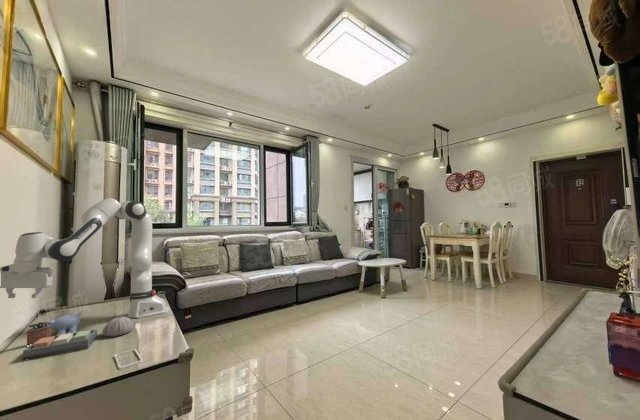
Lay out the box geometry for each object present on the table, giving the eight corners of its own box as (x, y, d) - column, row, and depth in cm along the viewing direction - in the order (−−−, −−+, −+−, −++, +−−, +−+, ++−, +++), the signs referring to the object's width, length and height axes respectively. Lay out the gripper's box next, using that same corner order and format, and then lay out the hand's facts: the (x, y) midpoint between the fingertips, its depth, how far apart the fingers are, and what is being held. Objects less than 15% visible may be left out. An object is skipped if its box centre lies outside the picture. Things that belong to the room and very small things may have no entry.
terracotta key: (54, 340, 122) (54, 336, 122) (47, 346, 116) (47, 341, 116) (41, 342, 120) (41, 338, 120) (33, 349, 114) (33, 344, 114)
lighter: (50, 339, 131) (50, 319, 131) (51, 341, 129) (51, 320, 129) (26, 345, 125) (26, 324, 125) (26, 347, 122) (27, 325, 123)
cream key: (73, 337, 125) (73, 333, 125) (67, 343, 119) (67, 338, 119) (60, 339, 123) (60, 335, 123) (53, 345, 117) (53, 340, 117)
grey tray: (97, 337, 132) (97, 328, 132) (87, 348, 119) (88, 338, 120) (39, 347, 122) (39, 337, 123) (23, 360, 110) (23, 350, 110)
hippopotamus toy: (45, 333, 140) (46, 314, 140) (83, 325, 149) (84, 308, 149) (41, 339, 131) (41, 320, 132) (81, 331, 140) (81, 313, 141)
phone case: (142, 363, 105) (135, 351, 116) (142, 360, 105) (135, 348, 116) (119, 371, 100) (114, 357, 111) (119, 367, 100) (114, 354, 111)
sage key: (90, 334, 128) (90, 330, 128) (85, 339, 122) (85, 335, 122) (78, 336, 126) (78, 332, 126) (72, 342, 120) (72, 337, 120)
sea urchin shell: (117, 339, 129) (117, 322, 129) (94, 337, 131) (95, 321, 132) (140, 328, 142) (140, 313, 142) (120, 327, 144) (120, 312, 145)
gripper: (58, 266, 127) (54, 296, 125) (9, 266, 124) (5, 296, 123) (46, 268, 121) (42, 299, 119) (-5, 267, 118) (-10, 299, 116)
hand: (23, 297), depth 121 cm, fingers open, 8 cm apart
